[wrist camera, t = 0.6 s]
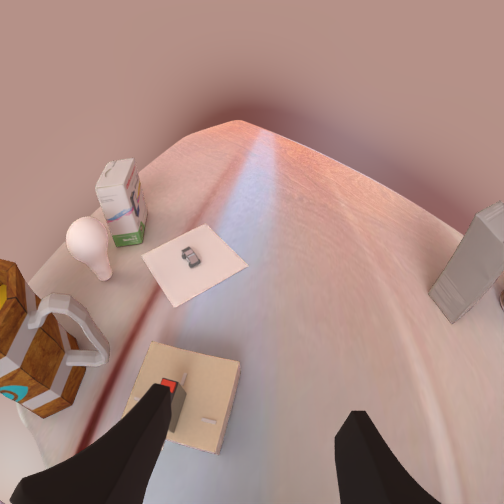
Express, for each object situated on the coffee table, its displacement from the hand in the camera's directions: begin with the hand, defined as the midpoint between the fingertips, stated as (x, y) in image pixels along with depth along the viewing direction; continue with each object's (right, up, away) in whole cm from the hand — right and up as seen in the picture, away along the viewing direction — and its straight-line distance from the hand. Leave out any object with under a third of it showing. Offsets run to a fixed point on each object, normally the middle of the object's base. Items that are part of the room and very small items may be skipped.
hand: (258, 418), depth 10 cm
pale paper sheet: (-9, +5, +33) cm, 35 cm away
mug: (-24, -9, +20) cm, 33 cm away
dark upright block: (-8, -9, +15) cm, 19 cm away
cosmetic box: (+30, -1, +26) cm, 39 cm away
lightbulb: (-22, +2, +31) cm, 38 cm away
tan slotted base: (-7, -10, +18) cm, 22 cm away
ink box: (-21, +10, +38) cm, 45 cm away
